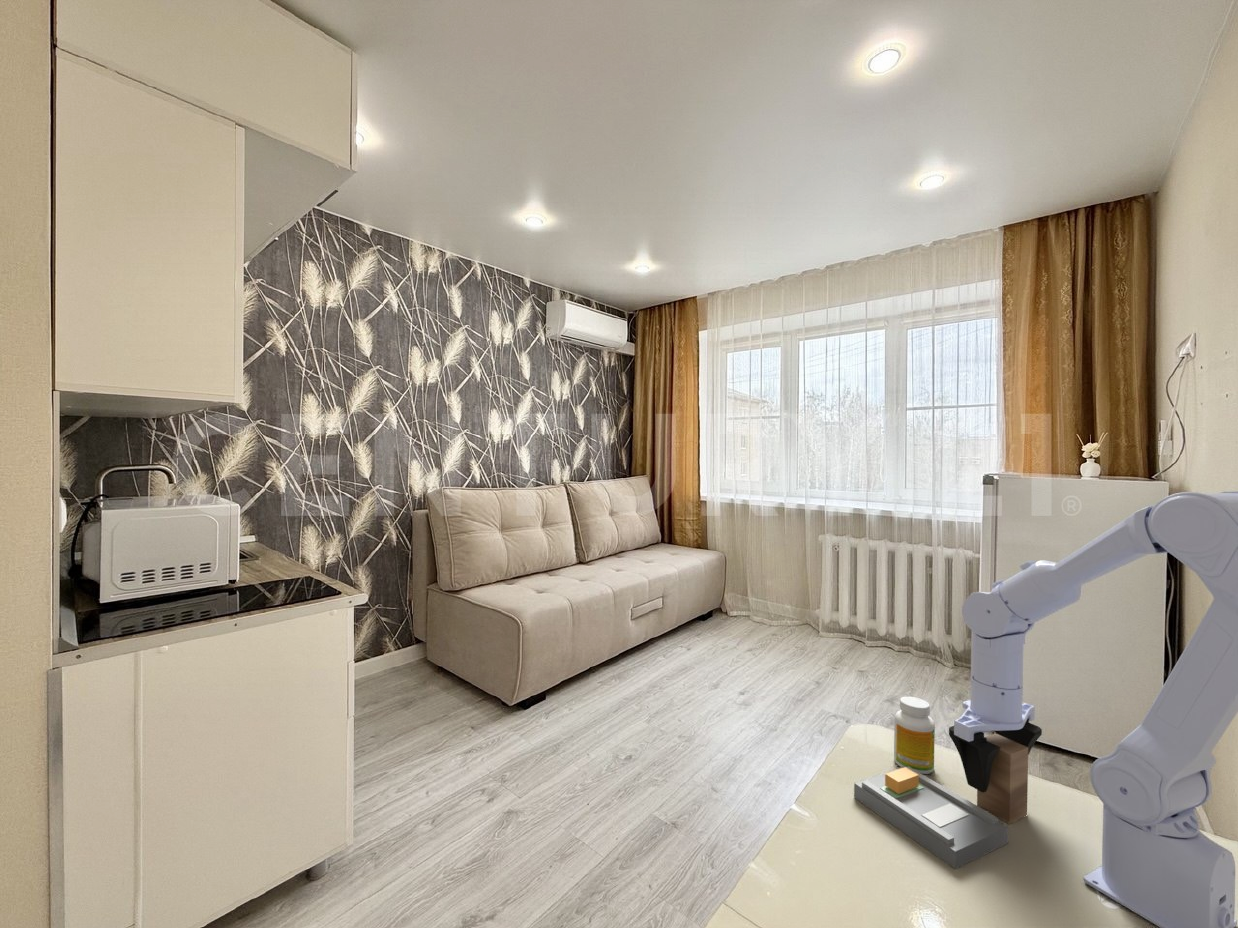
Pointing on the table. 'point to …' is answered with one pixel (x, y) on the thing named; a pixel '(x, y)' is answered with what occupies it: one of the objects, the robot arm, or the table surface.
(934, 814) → the grey railed tray
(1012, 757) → the tan wooden post
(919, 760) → the supplement bottle
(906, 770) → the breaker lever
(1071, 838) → the table surface
